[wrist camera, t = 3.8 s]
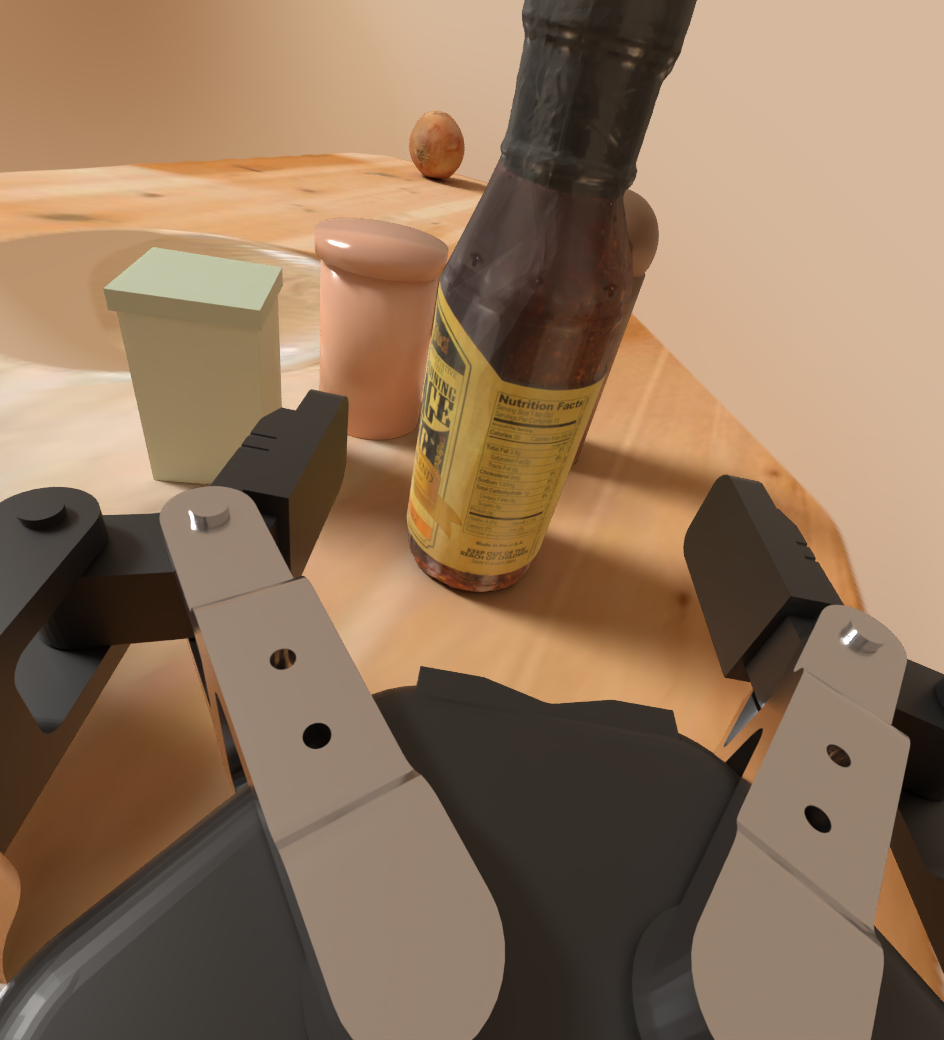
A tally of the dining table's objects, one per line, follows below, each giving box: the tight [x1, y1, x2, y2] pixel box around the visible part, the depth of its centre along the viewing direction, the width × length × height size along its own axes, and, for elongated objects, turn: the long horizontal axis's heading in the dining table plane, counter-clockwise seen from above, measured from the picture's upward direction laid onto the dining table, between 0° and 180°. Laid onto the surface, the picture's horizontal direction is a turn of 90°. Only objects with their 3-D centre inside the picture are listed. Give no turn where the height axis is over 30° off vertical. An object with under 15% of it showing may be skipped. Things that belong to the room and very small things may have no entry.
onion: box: [409, 111, 464, 178], centre depth 98 cm, size 10×10×10 cm
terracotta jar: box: [315, 218, 449, 440], centre depth 31 cm, size 7×7×10 cm
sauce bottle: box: [407, 0, 697, 592], centre depth 20 cm, size 6×6×20 cm
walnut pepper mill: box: [572, 189, 659, 465], centre depth 30 cm, size 5×5×14 cm
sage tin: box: [104, 247, 283, 484], centre depth 25 cm, size 5×5×9 cm
